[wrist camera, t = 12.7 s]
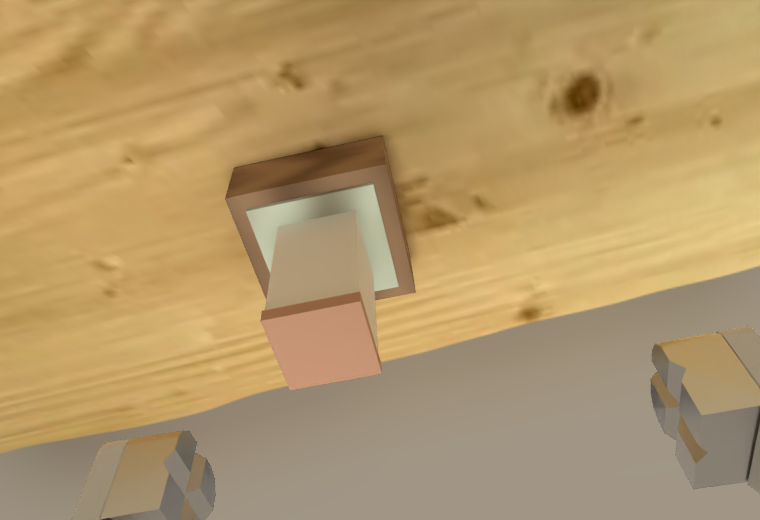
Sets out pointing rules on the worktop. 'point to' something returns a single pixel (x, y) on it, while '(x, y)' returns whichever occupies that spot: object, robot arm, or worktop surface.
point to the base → (324, 206)
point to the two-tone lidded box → (322, 302)
